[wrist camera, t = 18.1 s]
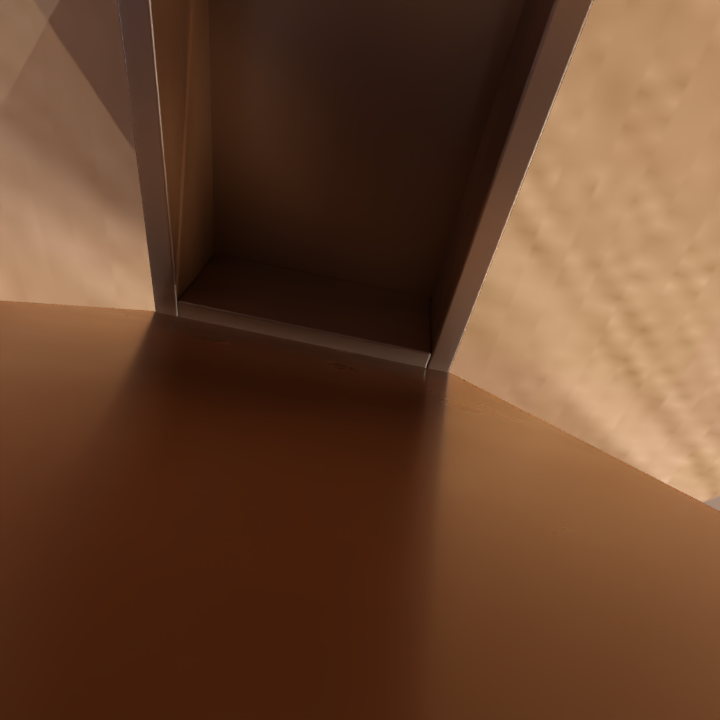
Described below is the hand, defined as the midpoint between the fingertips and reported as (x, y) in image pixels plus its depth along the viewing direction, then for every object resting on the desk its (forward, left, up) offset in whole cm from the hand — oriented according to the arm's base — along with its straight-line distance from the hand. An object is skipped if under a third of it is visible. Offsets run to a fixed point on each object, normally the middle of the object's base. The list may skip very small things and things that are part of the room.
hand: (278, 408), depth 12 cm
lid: (-4, +2, +4) cm, 6 cm away
